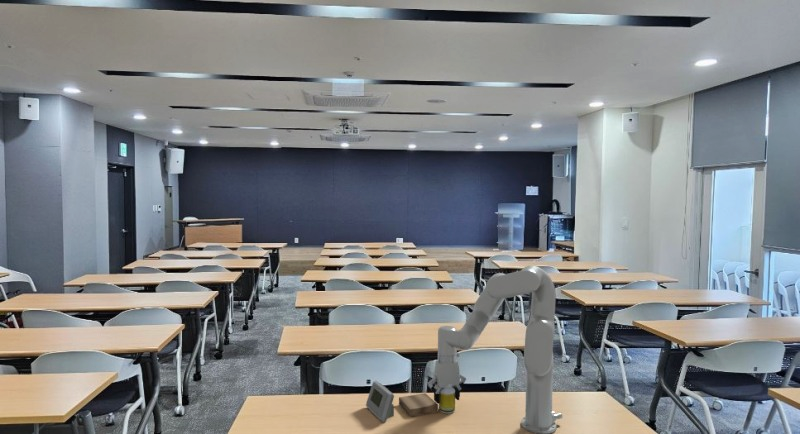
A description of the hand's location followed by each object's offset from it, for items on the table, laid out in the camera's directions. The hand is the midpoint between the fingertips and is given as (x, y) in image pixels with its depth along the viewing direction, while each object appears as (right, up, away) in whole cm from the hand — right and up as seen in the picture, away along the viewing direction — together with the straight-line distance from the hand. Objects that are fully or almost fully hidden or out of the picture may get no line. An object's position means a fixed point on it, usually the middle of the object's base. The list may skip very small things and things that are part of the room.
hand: (446, 400), depth 185 cm
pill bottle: (0, -4, 0) cm, 4 cm away
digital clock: (-27, -4, -3) cm, 27 cm away
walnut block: (-11, -4, +2) cm, 12 cm away
